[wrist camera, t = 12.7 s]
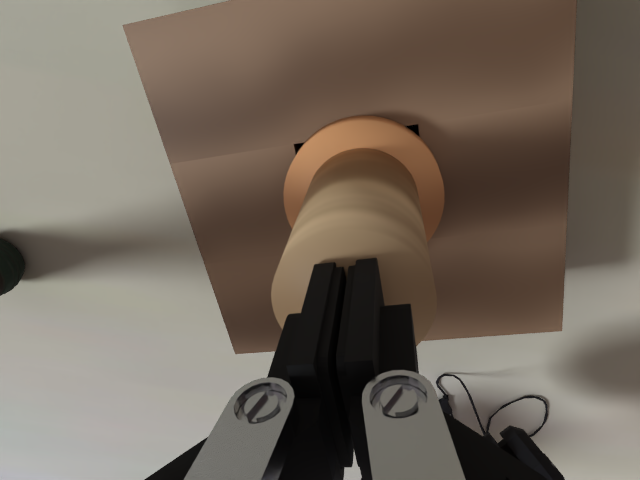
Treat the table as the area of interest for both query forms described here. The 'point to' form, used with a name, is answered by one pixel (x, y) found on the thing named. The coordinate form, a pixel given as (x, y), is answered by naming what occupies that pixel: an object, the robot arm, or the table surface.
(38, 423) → the table surface
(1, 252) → the stick grenade
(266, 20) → the socket block
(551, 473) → the headphones
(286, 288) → the peg
